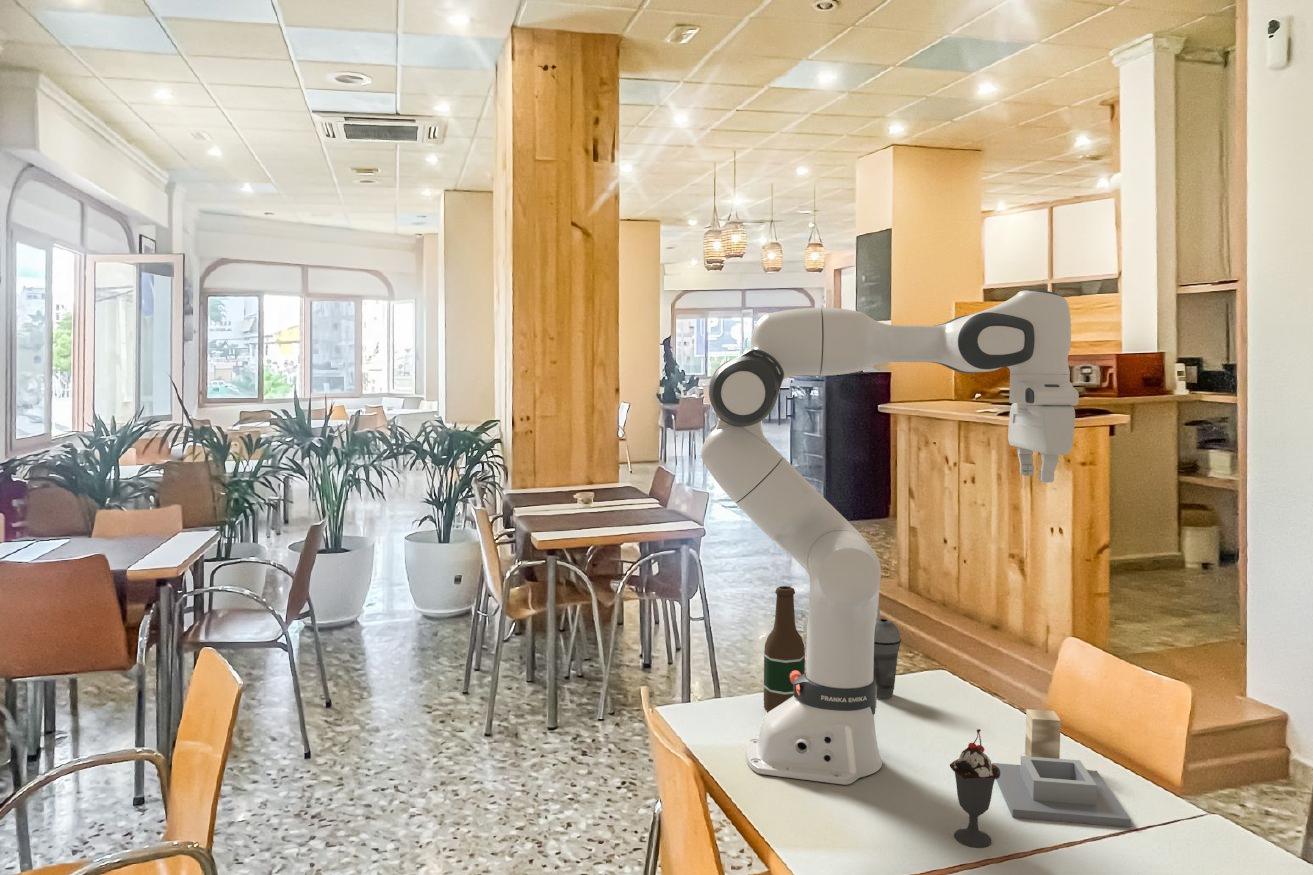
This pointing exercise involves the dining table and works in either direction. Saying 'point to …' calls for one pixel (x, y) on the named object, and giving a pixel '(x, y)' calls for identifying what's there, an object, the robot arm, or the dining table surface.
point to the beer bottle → (782, 651)
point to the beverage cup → (885, 656)
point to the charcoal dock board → (1059, 792)
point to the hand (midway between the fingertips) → (1036, 478)
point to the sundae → (974, 791)
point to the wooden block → (1042, 734)
